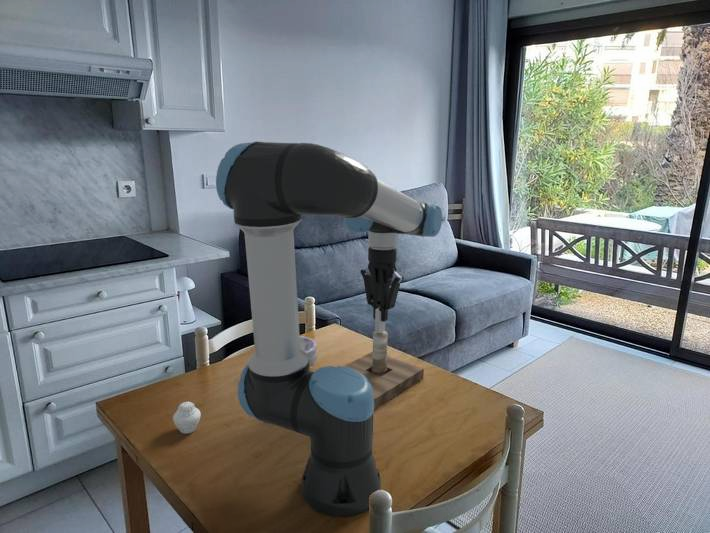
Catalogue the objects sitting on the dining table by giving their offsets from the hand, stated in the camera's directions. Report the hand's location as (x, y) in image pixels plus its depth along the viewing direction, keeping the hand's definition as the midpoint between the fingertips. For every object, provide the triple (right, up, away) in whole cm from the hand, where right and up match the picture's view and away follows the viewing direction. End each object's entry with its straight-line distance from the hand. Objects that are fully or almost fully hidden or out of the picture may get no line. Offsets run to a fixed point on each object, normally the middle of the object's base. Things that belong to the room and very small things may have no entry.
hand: (379, 331), depth 136 cm
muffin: (-45, -20, -22) cm, 54 cm away
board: (-2, -15, +1) cm, 15 cm away
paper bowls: (-26, -13, +9) cm, 30 cm away
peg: (0, -14, +4) cm, 15 cm away
